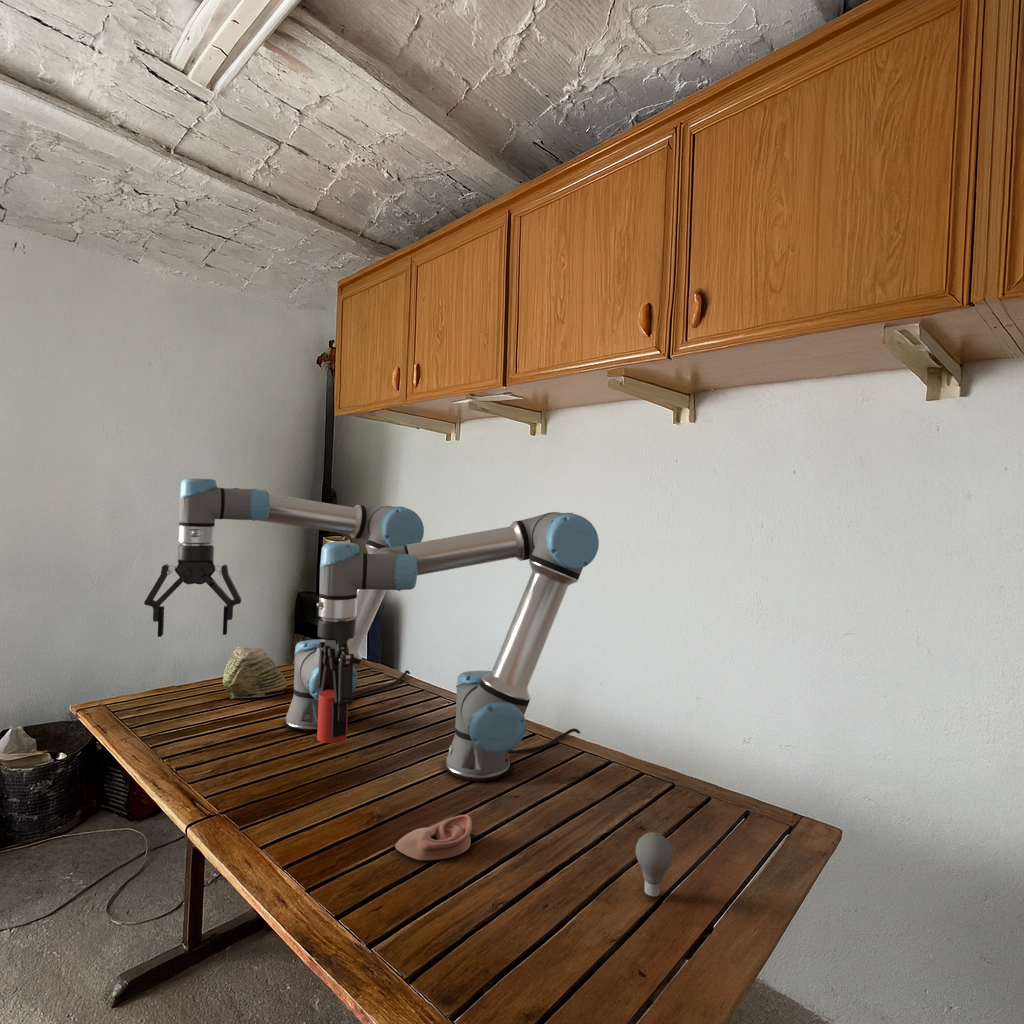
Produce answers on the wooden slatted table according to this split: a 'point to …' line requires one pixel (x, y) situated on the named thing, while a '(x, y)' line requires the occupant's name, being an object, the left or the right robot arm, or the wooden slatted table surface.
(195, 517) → the left robot arm
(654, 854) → the light bulb
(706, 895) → the wooden slatted table surface
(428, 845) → the anatomical model
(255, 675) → the fossil
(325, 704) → the canister
